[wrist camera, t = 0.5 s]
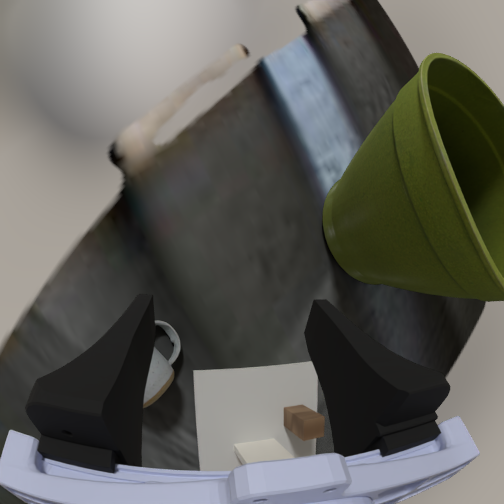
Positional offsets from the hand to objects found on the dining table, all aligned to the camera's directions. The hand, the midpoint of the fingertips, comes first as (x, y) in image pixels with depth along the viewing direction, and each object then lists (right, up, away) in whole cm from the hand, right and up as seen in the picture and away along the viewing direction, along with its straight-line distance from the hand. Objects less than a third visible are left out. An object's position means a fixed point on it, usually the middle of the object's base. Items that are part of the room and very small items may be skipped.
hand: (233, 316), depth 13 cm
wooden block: (+7, -21, +27) cm, 35 cm away
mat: (+2, -24, +25) cm, 35 cm away
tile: (+1, -25, +24) cm, 35 cm away
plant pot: (+20, +7, +37) cm, 43 cm away
